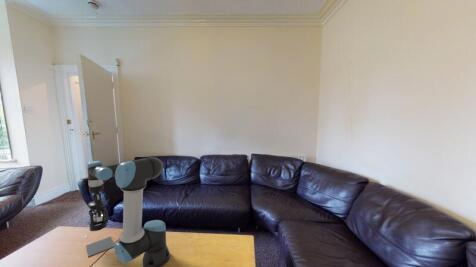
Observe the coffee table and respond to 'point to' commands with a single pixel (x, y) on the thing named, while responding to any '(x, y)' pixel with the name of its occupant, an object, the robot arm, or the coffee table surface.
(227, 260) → the coffee table surface
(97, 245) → the plate
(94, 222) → the black lantern
